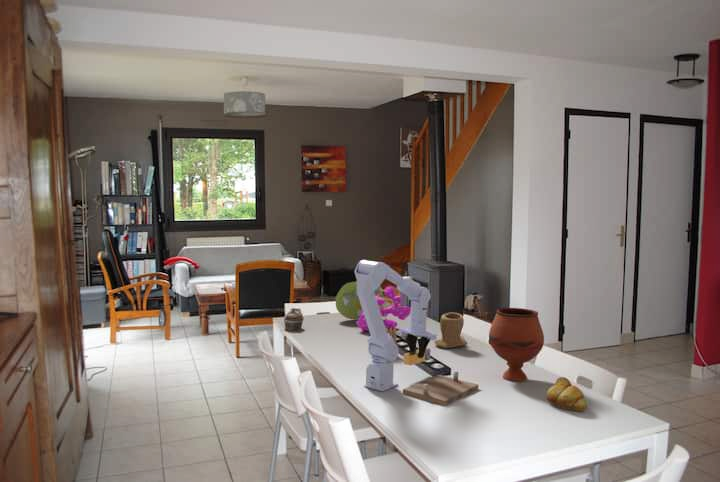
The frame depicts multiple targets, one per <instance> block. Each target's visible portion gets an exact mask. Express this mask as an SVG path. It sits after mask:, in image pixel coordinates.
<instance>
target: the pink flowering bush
mask: <svg viewBox="0 0 720 482" xmlns="http://www.w3.org/2000/svg"><path fill="white" fill-rule="evenodd" d="M383 292H384V293H383ZM374 293H375V296H376V300H377V303H378V306H379V309H380V312H381V315H382V318H385V319H383V322H384V325H385V328H388V330H390V327H391V328H392V330H393V329H394V327H395V328H396V327H397V326H398V322H397V321H395V320H393V319H388V318H387V317H388V315H389V314H391V315H392V316H394V317H395V318H396V317H397V318H398V319H399V320H402V321H406V319H407V318H408V317H409V316H410V317H411V306H406V305H405V306H403V305H399V304H401V303H402V302H403V300H404V298H403V296H402V295H397V294H396V293H397V292H396V290H395V288H394V287H392V286H391V285H390V286H386V287H385V288H384V289H383V288H382V287H381V285H380V286H379V287H378V289H377V290H375V292H374ZM384 296H385V297H384ZM386 297H387V298H386ZM389 298H390V299H389ZM389 303H390V305H391V306H390V305H389ZM384 304H385V305H387V306H388V308H385V307H384ZM335 308H336V310H337V311H338V313H339V314H340V315H342V317H345V319H349V320H352V319H353V320H357V321H356V324H357V326H358V327H359V329H361V330H362V331H364V332H369V328H368V325H367V322H366V319H365V316H364V313H363V310H362V307H361V304H360V301H359V298H358V294H357V280H356V281H351V282H346V283H345V284H344V285H342V287H341V288H340V289H339V291H338V292H337V294H336V296H335ZM396 329H397V328H396Z"/></svg>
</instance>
